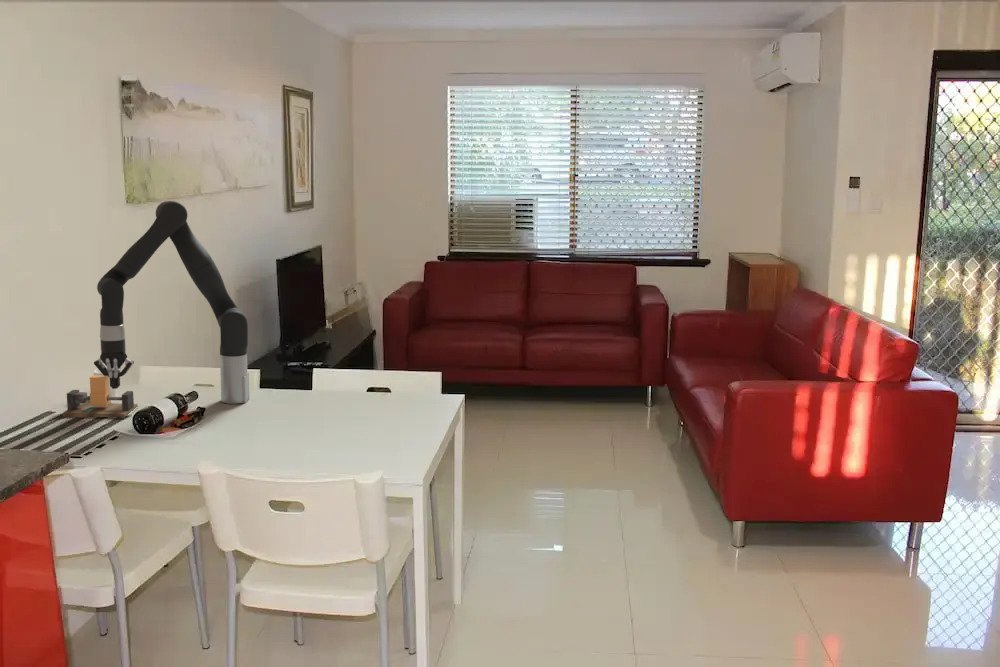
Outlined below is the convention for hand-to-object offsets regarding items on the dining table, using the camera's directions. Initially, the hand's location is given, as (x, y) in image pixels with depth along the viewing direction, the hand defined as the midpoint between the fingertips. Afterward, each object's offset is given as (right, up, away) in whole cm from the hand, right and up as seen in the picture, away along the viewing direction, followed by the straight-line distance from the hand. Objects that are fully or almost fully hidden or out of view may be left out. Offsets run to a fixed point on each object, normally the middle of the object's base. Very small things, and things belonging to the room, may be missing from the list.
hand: (115, 388), depth 302 cm
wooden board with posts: (-5, -8, +2) cm, 10 cm away
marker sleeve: (-5, -6, +1) cm, 8 cm away
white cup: (-11, -5, +19) cm, 23 cm away
